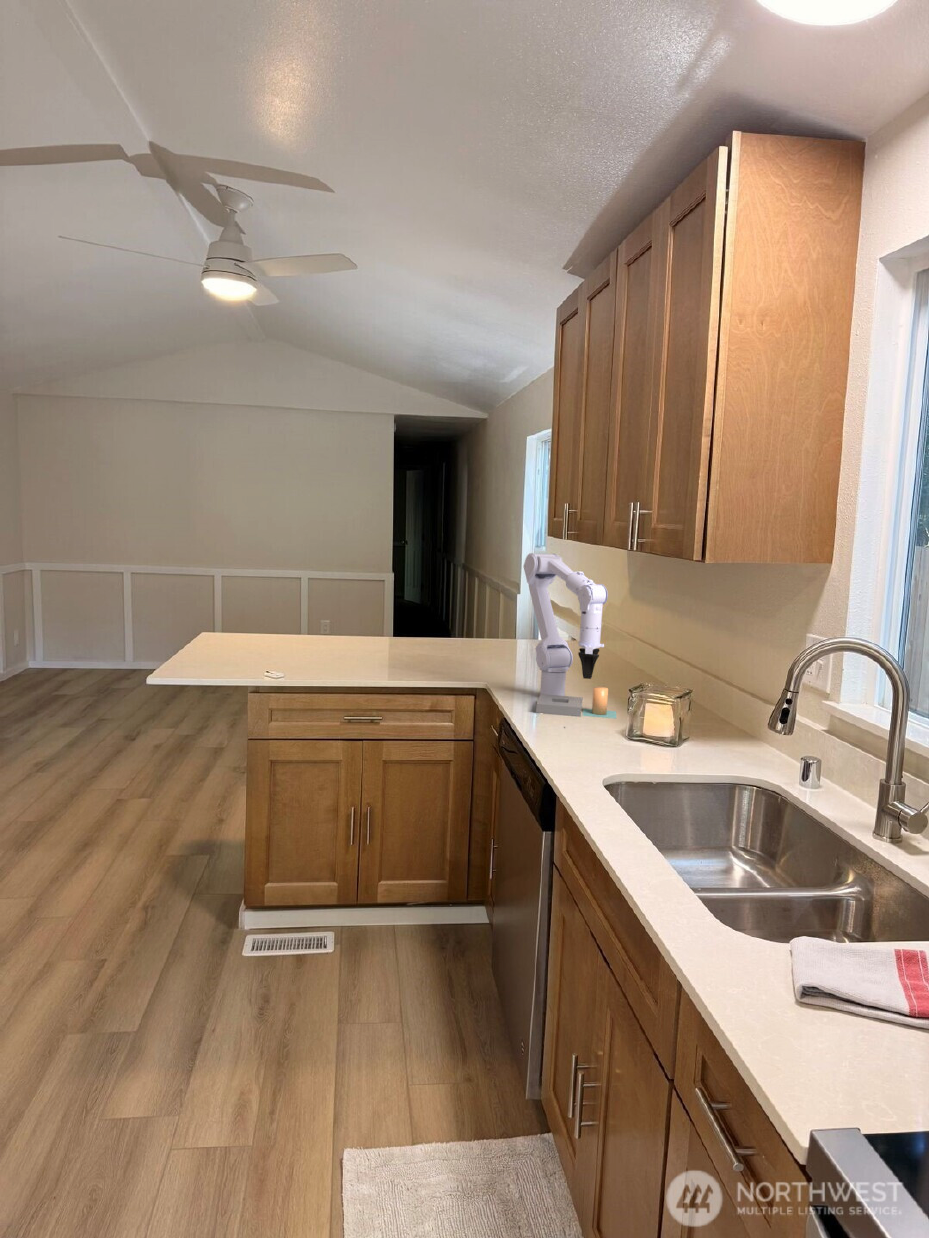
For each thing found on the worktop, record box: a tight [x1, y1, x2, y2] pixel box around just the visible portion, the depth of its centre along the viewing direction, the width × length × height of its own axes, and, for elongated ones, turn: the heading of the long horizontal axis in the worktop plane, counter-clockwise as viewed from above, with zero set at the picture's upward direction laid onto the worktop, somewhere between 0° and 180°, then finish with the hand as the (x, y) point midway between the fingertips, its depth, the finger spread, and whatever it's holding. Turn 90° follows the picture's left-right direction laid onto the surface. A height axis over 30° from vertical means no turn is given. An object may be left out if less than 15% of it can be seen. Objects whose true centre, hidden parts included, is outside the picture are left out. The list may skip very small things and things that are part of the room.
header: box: [535, 693, 583, 718], centre depth 236 cm, size 14×12×3 cm
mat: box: [582, 708, 617, 719], centre depth 233 cm, size 9×9×1 cm
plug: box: [591, 686, 609, 715], centre depth 233 cm, size 4×4×7 cm
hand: (587, 676), depth 237 cm, fingers open, 7 cm apart
